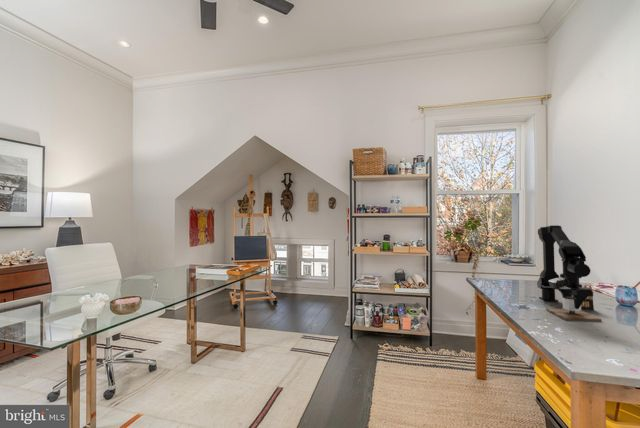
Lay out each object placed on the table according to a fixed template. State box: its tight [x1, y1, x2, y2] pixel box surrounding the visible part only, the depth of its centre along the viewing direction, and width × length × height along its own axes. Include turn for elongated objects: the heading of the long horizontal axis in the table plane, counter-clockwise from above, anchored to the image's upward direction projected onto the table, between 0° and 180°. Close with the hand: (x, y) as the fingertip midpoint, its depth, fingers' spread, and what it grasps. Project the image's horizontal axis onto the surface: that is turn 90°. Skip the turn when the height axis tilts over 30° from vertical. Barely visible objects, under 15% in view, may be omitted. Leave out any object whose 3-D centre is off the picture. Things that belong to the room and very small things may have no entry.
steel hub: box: [561, 296, 582, 311], centre depth 134 cm, size 6×6×5 cm
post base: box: [545, 307, 603, 323], centre depth 134 cm, size 14×14×6 cm
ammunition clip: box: [571, 284, 595, 311], centre depth 144 cm, size 11×2×12 cm, turn 55°
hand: (571, 306), depth 134 cm, fingers closed on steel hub, 6 cm apart
